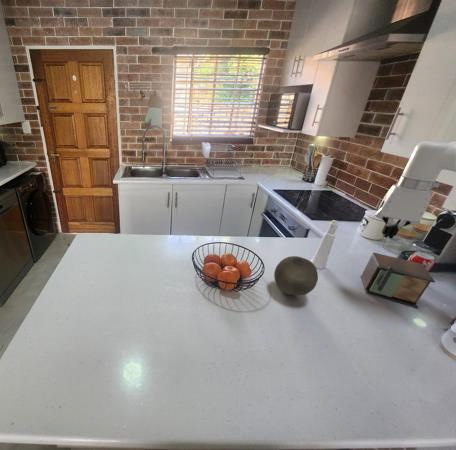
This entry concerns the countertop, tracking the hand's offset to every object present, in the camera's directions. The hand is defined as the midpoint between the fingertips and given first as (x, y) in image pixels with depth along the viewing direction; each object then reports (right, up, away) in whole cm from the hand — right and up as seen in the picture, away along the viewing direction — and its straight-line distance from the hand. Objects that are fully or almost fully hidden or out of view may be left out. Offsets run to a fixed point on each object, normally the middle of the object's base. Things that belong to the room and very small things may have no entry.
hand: (387, 236), depth 84 cm
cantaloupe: (-28, -22, +10) cm, 37 cm away
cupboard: (+12, -22, +13) cm, 28 cm away
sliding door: (+6, -23, +9) cm, 25 cm away
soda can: (+29, -19, +20) cm, 40 cm away
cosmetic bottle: (-6, -14, +27) cm, 31 cm away
